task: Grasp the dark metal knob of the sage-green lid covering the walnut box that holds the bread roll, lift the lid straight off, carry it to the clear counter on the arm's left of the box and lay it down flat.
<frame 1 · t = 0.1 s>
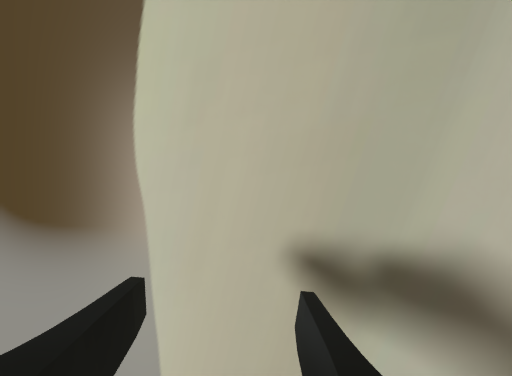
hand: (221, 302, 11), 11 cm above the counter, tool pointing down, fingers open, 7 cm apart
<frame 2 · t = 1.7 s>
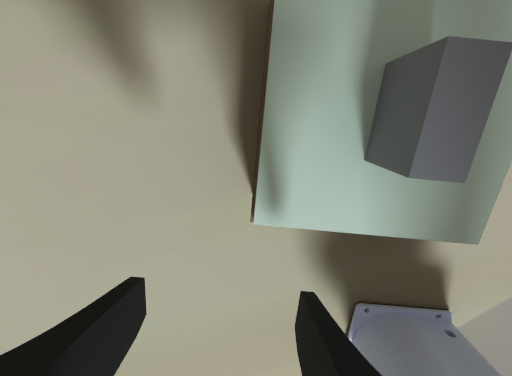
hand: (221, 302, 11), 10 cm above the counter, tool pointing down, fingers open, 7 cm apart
lid: (387, 116, 13), point 6 cm above the counter, touching box
box: (350, 117, 18), on the counter
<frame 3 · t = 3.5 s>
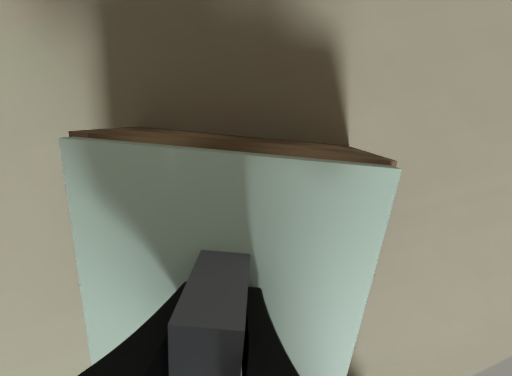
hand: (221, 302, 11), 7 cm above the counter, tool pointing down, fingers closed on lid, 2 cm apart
lid: (225, 284, 12), point 6 cm above the counter, touching box, gripper
box: (236, 233, 17), on the counter
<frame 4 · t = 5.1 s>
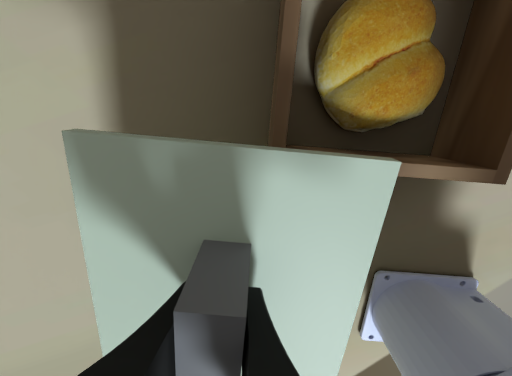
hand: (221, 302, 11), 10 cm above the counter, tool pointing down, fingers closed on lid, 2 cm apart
lid: (227, 272, 12), point 9 cm above the counter, touching gripper
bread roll: (369, 70, 18), resting in box
box: (370, 65, 17), on the counter
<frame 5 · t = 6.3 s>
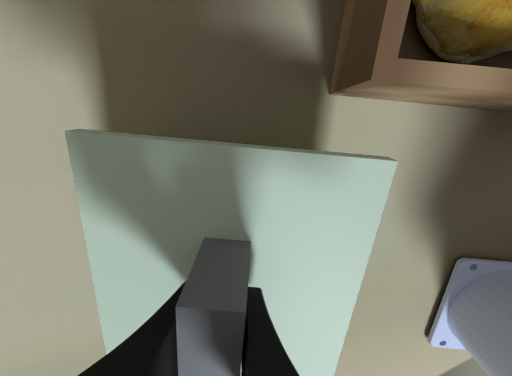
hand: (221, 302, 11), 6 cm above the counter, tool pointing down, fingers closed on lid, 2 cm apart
lid: (227, 269, 13), point 4 cm above the counter, touching gripper
when the fingers open (4 cm above the counter, at t = 7.0 s): lid drops 2 cm, on the counter.
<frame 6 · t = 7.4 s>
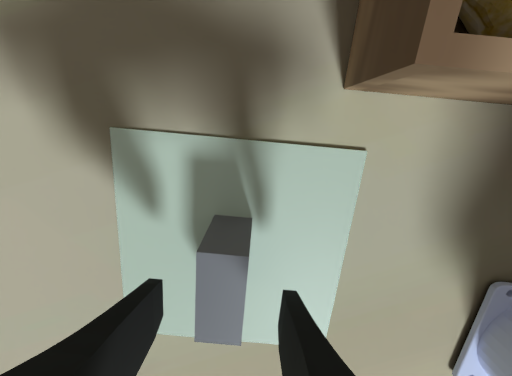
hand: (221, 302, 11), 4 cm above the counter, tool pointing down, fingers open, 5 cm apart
lid: (232, 246, 15), on the counter
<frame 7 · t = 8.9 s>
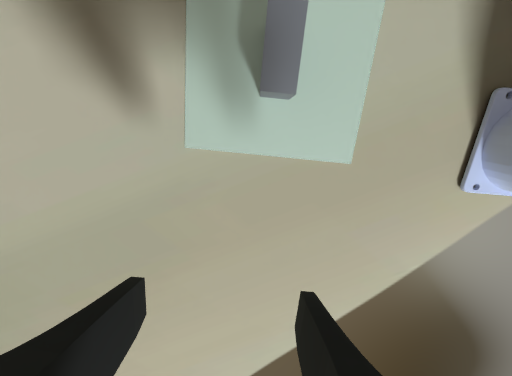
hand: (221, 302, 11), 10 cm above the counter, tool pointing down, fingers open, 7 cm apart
lid: (277, 66, 18), on the counter
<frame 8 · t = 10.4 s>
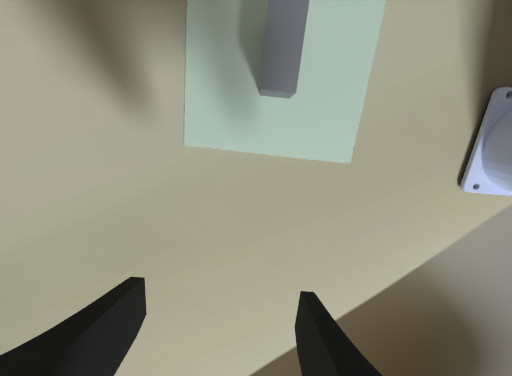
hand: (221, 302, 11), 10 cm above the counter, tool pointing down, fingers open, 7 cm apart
lid: (277, 64, 18), on the counter
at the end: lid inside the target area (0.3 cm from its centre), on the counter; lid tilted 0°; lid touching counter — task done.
